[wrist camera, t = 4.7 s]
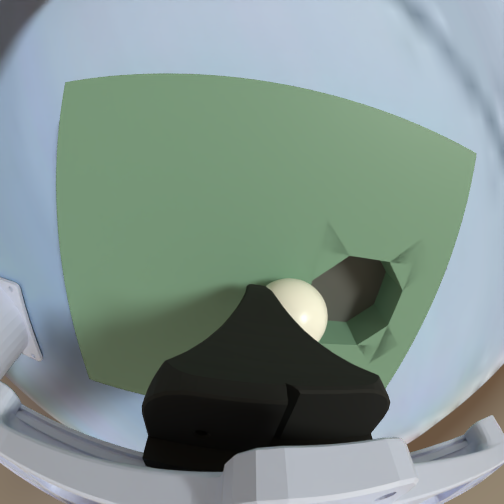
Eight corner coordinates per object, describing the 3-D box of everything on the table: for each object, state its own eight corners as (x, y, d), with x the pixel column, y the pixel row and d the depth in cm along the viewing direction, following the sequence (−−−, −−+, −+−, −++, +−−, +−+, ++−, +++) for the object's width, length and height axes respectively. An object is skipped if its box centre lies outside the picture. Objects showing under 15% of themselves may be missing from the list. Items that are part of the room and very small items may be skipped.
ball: (311, 379, 10) (319, 333, 13) (336, 315, 9) (337, 275, 12) (234, 358, 11) (256, 317, 14) (244, 291, 9) (266, 258, 12)
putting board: (102, 356, 18) (89, 379, 15) (91, 88, 11) (65, 82, 9) (361, 387, 19) (370, 410, 16) (448, 149, 12) (476, 153, 10)
